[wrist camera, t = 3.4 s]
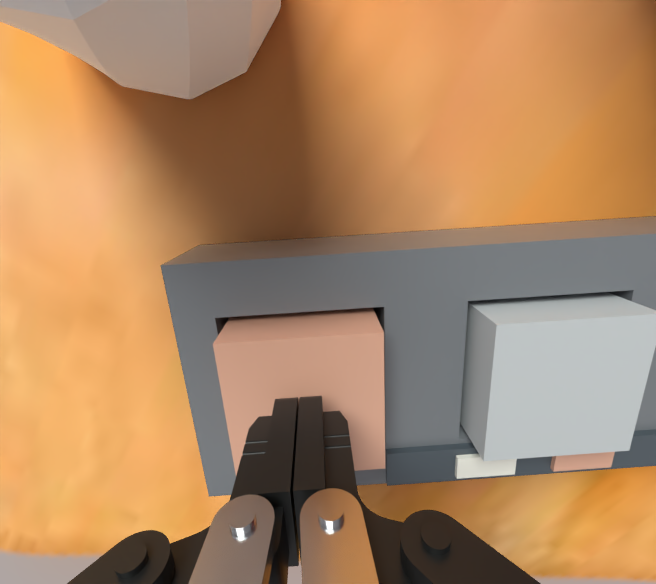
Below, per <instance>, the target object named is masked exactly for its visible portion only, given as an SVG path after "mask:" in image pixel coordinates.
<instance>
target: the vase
mask: <svg viewBox="0 0 656 584" xmlns="http://www.w3.org/2000/svg"><path fill="white" fill-rule="evenodd" d="M280 8H281V0H0V22H3V23H5V24H8V25H11V26H13V27H16V28H18V29H21V30H23V31H26V32H28V33H31V34H33V35H35V36H37V37H39V38H41V39H43V40H45V41H47V42H49V43H51V44H53V45H55V46H57V47H59V48H61V49H63V50H65V51H67V52H69V53H71V54H73V55H75V56H76V57H78V58H80V59H81V60H83V61H85V62H86V63H88V64H89V65H91V66H93V67H94V68H96V69H97V70H99V71H101V72H102V73H104V74H106V75H107V76H108V77H110V78H111V79H112V80H114V81H115V82H116V83H118V84H119V85H121V86H123V87H128V88H133V89H138V90H143V91H148V92H154V93H159V94H164V95H169V96H174V97H179V98H184V99H193V98H195V97H197V96H199V95H201V94H203V93H205V92H207V91H209V90H211V89H213V88H215V87H217V86H219V85H221V84H223V83H225V82H227V81H229V80H231V79H233V78H235V77H237V76H239V75H241V74H243V73H245V72H247V70H248V68H249V66H250V64H251V62H252V61H253V59H254V57H255V55H256V53H257V51H258V50H259V48H260V46H261V44H262V42H263V40H264V39H265V37H266V35H267V33H268V31H269V29H270V28H271V26H272V24H273V22H274V20H275V18H276V17H277V15H278V13H279V10H280Z"/></svg>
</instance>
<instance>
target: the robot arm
mask: <svg viewBox="0 0 656 584" xmlns="http://www.w3.org/2000/svg"><path fill="white" fill-rule="evenodd" d="M299 549H300V558H301V565H302V584H540V583H539V582H538V581H536V580H535V579H534V578H532V577H531V576H530V575H528V574H527V573H526V572H524V571H523V570H522V569H520V568H519V567H518V566H516V565H515V564H514V563H512V562H511V561H509V560H508V559H507V558H505V557H504V556H503V555H501V554H500V553H499V552H497V551H496V550H495V549H493V548H492V547H491V546H489V545H488V544H487V543H485V542H484V541H483V540H481V539H480V538H479V537H477V536H476V535H475V534H473V533H472V532H471V531H469V530H468V529H467V528H465V527H464V526H463V525H461V524H460V523H459V522H457V521H456V520H455V519H453V518H451V517H450V516H448V515H446V514H444V513H441V512H438V511H434V510H422V511H418V512H415V513H413V514H411V515H410V516H409V517H408V518H407V519H406V520H405V521H404V523H402V522H398V521H394V520H390V519H386V518H383V517H380V516H378V515H376V514H375V513H373V512H372V511H370V510H369V509H368V508H367V507H366V506H365V505H364V504H363V502H362V501H361V499H360V497H359V495H358V491H357V485H356V478H355V470H354V463H353V456H352V449H351V442H350V436H349V428H348V421H347V420H346V418H345V417H344V416H343V415H342V413H341V412H340V411H328V412H323V402H322V396H308V397H300V398H299V399H298V397H295V398H281V399H275V401H274V407H273V412H272V416H260V417H258V418H257V419H256V420H255V422H254V423H253V424H252V425H251V427H250V428H249V430H248V434H247V438H246V441H245V445H244V449H243V453H242V456H241V460H240V464H239V468H238V471H237V475H236V479H235V483H234V486H233V490H232V494H231V498H230V501H229V502H228V503H226V504H225V505H224V506H223V507H222V508H221V509H220V510H219V511H218V512H217V514H216V515H215V517H214V519H213V521H212V523H211V526H209V527H208V528H206V529H204V530H203V531H201V532H199V533H197V534H194V535H192V536H189V537H186V538H184V539H181V540H179V541H176V542H173V543H171V544H170V543H169V540H168V538H167V537H166V536H165V535H164V534H163V533H161V532H159V531H154V530H147V531H142V532H139V533H135V534H133V535H131V536H129V537H127V538H125V539H124V540H122V541H121V542H119V543H118V544H116V545H115V546H114V547H113V548H111V549H110V550H109V551H108V552H106V553H105V554H104V555H103V556H101V557H100V558H99V559H98V560H96V561H95V562H94V563H93V564H91V565H90V566H89V567H88V568H86V569H85V570H84V571H83V572H81V573H80V574H79V575H77V576H76V577H75V578H74V579H72V580H71V581H70V582H69V583H68V584H287V578H288V567H289V566H298V565H299Z"/></svg>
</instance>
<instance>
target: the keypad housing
mask: <svg viewBox="0 0 656 584" xmlns="http://www.w3.org/2000/svg"><path fill="white" fill-rule="evenodd" d="M161 270H162V274H163V279H164V284H165V289H166V293H167V298H168V303H169V308H170V312H171V317H172V322H173V327H174V331H175V336H176V341H177V346H178V351H179V355H180V360H181V365H182V370H183V374H184V379H185V384H186V389H187V393H188V398H189V403H190V408H191V412H192V417H193V422H194V427H195V431H196V436H197V441H198V446H199V451H200V455H201V460H202V465H203V470H204V474H205V479H206V484H207V489H208V493H209V496H221V495H231V494H232V490H233V486H234V483H235V479H236V474H235V468H234V462H233V457H232V451H231V445H230V439H229V434H228V428H227V422H226V417H225V411H224V405H223V400H222V394H221V388H220V383H219V377H218V371H217V365H216V360H215V354H214V348H213V343H214V341H215V340H216V338H217V337H218V335H219V333H220V332H221V330H222V329H223V327H224V326H225V324H226V323H227V321H228V319H229V318H230V317H237V316H252V315H267V314H282V313H297V312H312V311H327V310H342V309H357V308H372V307H373V310H374V312H375V314H376V316H377V318H378V320H379V323H380V325H381V327H382V329H383V331H384V388H385V469H372V470H358V471H355V478H356V485H370V484H383V483H387V486H388V485H401V484H415V483H428V482H441V481H455V480H468V479H482V478H495V477H509V476H522V475H536V474H549V473H563V472H576V471H590V470H603V469H617V468H630V467H644V466H656V347H655V351H654V355H653V359H652V362H651V366H650V370H649V374H648V378H647V382H646V386H645V390H644V394H643V398H642V402H641V406H640V410H639V414H638V418H637V422H636V426H635V430H634V434H633V438H632V442H631V446H630V450H629V451H617V452H604V453H590V454H576V455H563V456H549V457H535V458H522V459H508V460H494V461H483V460H482V458H481V456H480V455H479V453H478V451H477V450H476V448H475V446H474V445H473V443H472V441H471V440H470V438H469V436H468V435H467V433H466V431H465V430H464V428H463V427H462V425H461V423H460V412H461V398H462V383H463V368H464V354H465V339H466V324H467V310H468V301H477V300H492V299H507V298H522V297H537V296H552V295H567V294H583V293H598V292H608V293H610V294H613V295H616V296H619V297H621V298H624V299H627V300H629V301H632V302H635V303H637V304H640V305H643V306H645V307H648V308H651V309H653V310H656V216H649V217H633V218H618V219H602V220H586V221H570V222H554V223H539V224H523V225H507V226H491V227H476V228H460V229H444V230H428V231H413V232H397V233H381V234H365V235H350V236H334V237H318V238H302V239H286V240H271V241H255V242H239V243H223V244H208V245H198V246H196V247H195V248H193V249H191V250H189V251H187V252H185V253H183V254H181V255H179V256H178V257H176V258H174V259H172V260H170V261H168V262H166V263H164V264H162V265H161Z"/></svg>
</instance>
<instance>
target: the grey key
mask: <svg viewBox="0 0 656 584" xmlns="http://www.w3.org/2000/svg"><path fill="white" fill-rule="evenodd" d="M655 347H656V310H653V309H651V308H648V307H645V306H643V305H640V304H637V303H635V302H632V301H629V300H627V299H624V298H621V297H619V296H616V295H613V294H610V293H608V292H598V293H583V294H567V295H552V296H537V297H522V298H507V299H492V300H477V301H468V310H467V324H466V339H465V354H464V368H463V383H462V398H461V412H460V423H461V425H462V427H463V428H464V430H465V431H466V433H467V435H468V436H469V438H470V440H471V441H472V443H473V445H474V446H475V448H476V450H477V451H478V453H479V455H480V456H481V458H482V460H483V461H494V460H508V459H522V458H535V457H549V456H563V455H576V454H590V453H604V452H617V451H629V450H630V446H631V442H632V438H633V434H634V430H635V426H636V422H637V418H638V414H639V410H640V406H641V402H642V398H643V394H644V390H645V386H646V382H647V378H648V374H649V370H650V366H651V362H652V359H653V355H654V351H655Z"/></svg>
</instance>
